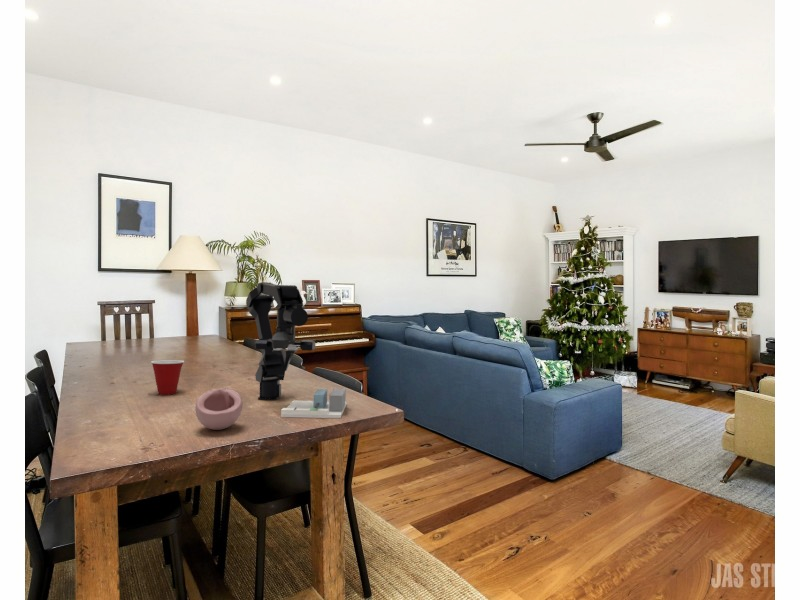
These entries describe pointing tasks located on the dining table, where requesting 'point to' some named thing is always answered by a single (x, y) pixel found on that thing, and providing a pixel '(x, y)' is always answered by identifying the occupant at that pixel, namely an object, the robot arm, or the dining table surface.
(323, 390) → the plunger
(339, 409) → the frame
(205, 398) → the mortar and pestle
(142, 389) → the dining table surface
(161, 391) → the plastic cup
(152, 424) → the dining table surface
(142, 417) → the dining table surface
